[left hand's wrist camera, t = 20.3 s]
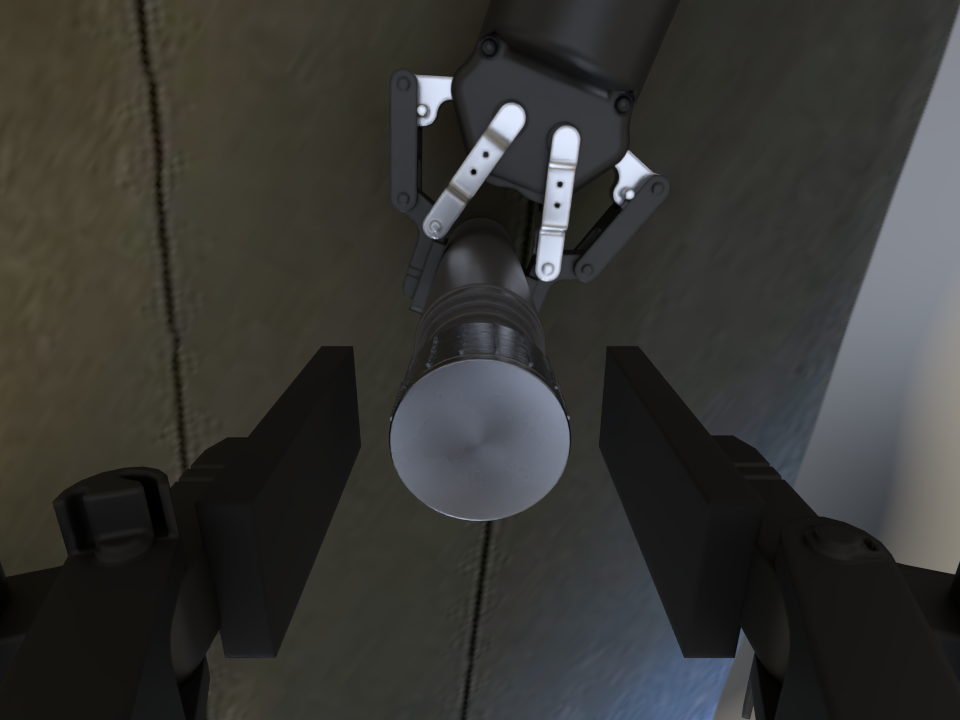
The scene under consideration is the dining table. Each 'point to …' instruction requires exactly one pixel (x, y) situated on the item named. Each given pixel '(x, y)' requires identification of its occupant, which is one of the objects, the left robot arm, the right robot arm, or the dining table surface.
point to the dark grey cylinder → (480, 285)
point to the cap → (480, 423)
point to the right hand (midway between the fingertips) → (461, 323)
